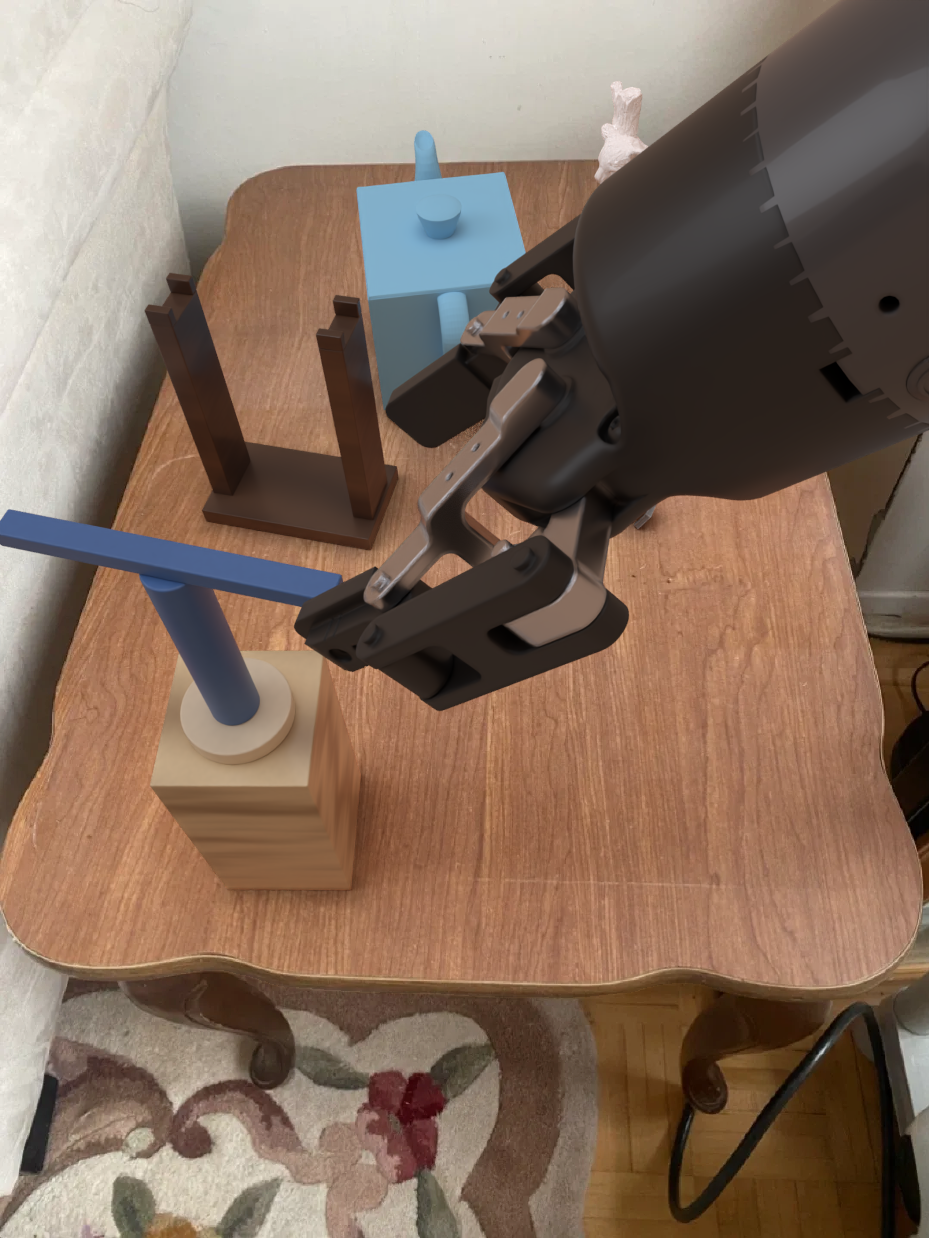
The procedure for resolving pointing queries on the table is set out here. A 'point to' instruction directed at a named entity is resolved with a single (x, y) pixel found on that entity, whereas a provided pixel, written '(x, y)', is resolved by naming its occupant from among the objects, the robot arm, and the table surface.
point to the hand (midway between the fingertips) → (367, 523)
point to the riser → (269, 789)
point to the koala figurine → (620, 132)
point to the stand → (274, 476)
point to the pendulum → (195, 623)
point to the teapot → (431, 260)
